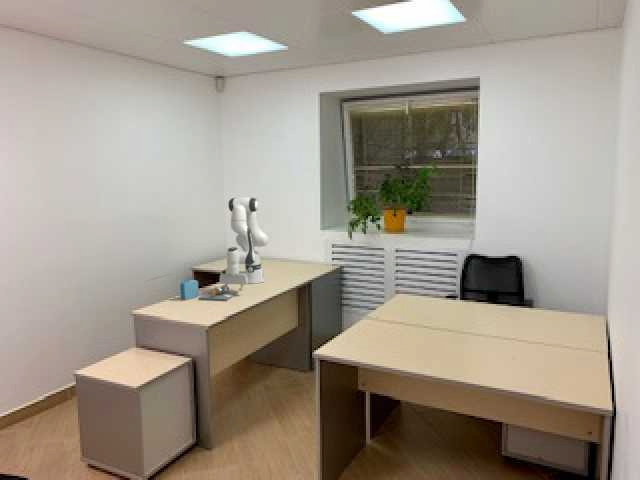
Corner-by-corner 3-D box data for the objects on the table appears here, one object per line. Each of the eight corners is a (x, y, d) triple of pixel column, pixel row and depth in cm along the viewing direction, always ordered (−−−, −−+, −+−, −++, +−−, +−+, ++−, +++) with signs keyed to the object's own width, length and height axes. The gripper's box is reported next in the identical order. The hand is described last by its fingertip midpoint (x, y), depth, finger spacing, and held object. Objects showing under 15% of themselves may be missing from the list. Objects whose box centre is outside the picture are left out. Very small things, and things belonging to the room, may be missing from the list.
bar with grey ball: (220, 290, 350) (220, 283, 349) (228, 290, 349) (228, 283, 348) (208, 297, 330) (208, 290, 330) (217, 297, 329) (216, 290, 329)
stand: (212, 291, 353) (212, 288, 352) (239, 293, 348) (239, 290, 348) (198, 299, 331) (198, 296, 331) (227, 301, 327) (227, 298, 327)
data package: (194, 295, 342) (193, 279, 340) (198, 296, 339) (198, 280, 338) (180, 299, 332) (179, 282, 330) (185, 300, 330) (184, 283, 328)
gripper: (249, 270, 341) (249, 289, 343) (221, 269, 345) (222, 288, 347) (246, 272, 335) (246, 291, 337) (218, 271, 339) (219, 290, 341)
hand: (234, 290), depth 342 cm, fingers open, 8 cm apart
